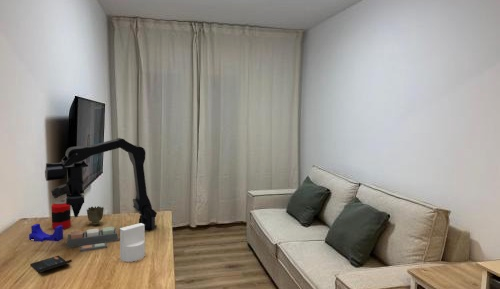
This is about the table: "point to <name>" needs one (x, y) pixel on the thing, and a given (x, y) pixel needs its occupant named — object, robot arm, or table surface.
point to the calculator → (49, 263)
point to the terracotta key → (76, 234)
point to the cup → (95, 214)
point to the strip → (93, 247)
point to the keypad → (91, 239)
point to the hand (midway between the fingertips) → (76, 215)
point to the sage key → (107, 230)
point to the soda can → (61, 214)
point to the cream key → (92, 232)
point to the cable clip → (41, 236)
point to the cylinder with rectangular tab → (132, 242)
